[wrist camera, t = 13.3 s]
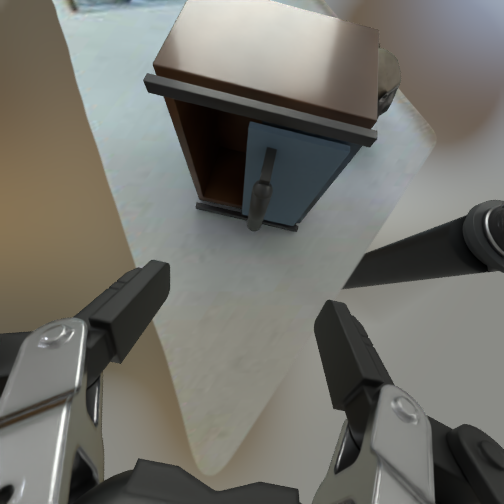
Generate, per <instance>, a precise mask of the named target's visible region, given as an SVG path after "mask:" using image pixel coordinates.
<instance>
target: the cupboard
mask: <svg viewBox="0 0 504 504" xmlns="http://www.w3.org/2000/svg"><path fill="white" fill-rule="evenodd" d="M378 56H379V30H378V29H374V28H371V27H367V26H363V25H359V24H355V23H352V22H348V21H344V20H341V19H337V18H334V17H330V16H326V15H322V14H319V13H315V12H311V11H307V10H304V9H300V8H296V7H293V6H289V5H285V4H281V3H278V2H274V1H270V0H187V1H186V3H185V5H184V7H183V9H182V10H181V12H180V14H179V16H178V18H177V20H176V21H175V23H174V25H173V27H172V29H171V31H170V33H169V34H168V36H167V38H166V40H165V42H164V44H163V45H162V47H161V49H160V51H159V53H158V55H157V57H156V58H155V60H154V62H153V67H154V70H155V73H156V75H152V74H149V73H147V74H146V76H145V78H144V80H143V81H144V84H145V86H146V88H147V91H148V92H149V93H152V94H156V95H160V96H164V99H165V102H166V105H167V108H168V111H169V113H170V116H171V119H172V122H173V125H174V128H175V131H176V134H177V136H178V139H179V142H180V145H181V148H182V151H183V154H184V157H185V159H186V162H187V165H188V168H189V171H190V174H191V177H192V180H193V182H194V185H195V188H196V191H197V194H198V197H199V199H200V200H204V201H208V202H212V203H217V204H221V205H225V206H229V207H234V208H238V209H242V205H243V192H244V179H245V165H246V152H247V139H248V127H249V123H250V122H255V123H259V124H263V125H267V126H271V127H275V128H279V129H283V130H287V131H291V132H295V133H299V134H303V135H307V136H312V137H316V138H320V139H324V140H328V141H332V142H336V143H340V144H344V145H348V146H350V153H349V154H348V155H347V157H346V158H345V159H344V161H343V162H342V163H341V165H340V166H339V167H338V168H337V170H336V171H335V172H334V174H333V175H332V176H331V178H330V179H329V180H328V181H327V183H326V184H325V185H324V187H323V188H322V189H321V191H320V192H319V193H318V195H317V196H316V197H315V198H314V200H313V201H312V202H311V204H310V205H309V206H308V208H307V209H306V210H305V212H304V213H303V214H302V215H301V217H300V218H299V219H298V221H297V222H296V223H300V222H301V221H302V220H303V218H304V217H305V216H306V215H307V213H308V212H309V211H310V210H311V208H312V207H313V206H314V205H315V204H316V202H317V201H318V200H319V199H320V197H321V196H322V195H323V194H324V193H325V191H326V190H327V189H328V188H329V186H330V185H331V184H332V183H333V181H334V180H335V179H336V178H337V177H338V175H339V174H340V173H341V172H342V170H343V169H344V168H345V167H346V166H347V164H348V163H349V162H350V161H351V159H352V158H353V157H354V156H355V155H356V153H357V152H358V151H359V150H360V148H361V147H362V146H366V147H371V145H372V144H373V143H374V142H375V141H376V140H377V131H375V130H371V128H372V127H373V126H374V124H375V123H376V122H377V105H378ZM196 209H200V210H204V211H209V212H213V213H217V214H222V215H226V216H230V217H235V218H239V219H243V220H248V216H247V215H243V214H242V213H240V212H236V211H232V210H228V209H223V208H219V207H215V206H210V205H206V204H202V203H196ZM262 224H265V225H269V226H274V227H278V228H282V229H287V230H291V231H295V232H297V230H298V226H296V225H294V226H290V225H286V224H281V223H277V222H273V221H268V220H264V219H263V222H262Z"/></svg>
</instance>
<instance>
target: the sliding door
mask: <svg viewBox="0 0 504 504" xmlns="http://www.w3.org/2000/svg"><path fill="white" fill-rule="evenodd" d="M349 153H350V146H348V145H344V144H340V143H336V142H332V141H328V140H324V139H320V138H316V137H312V136H307V135H303V134H299V133H295V132H291V131H287V130H283V129H279V128H275V127H271V126H267V125H263V124H259V123H255V122H250V123H249V127H248V139H247V152H246V165H245V179H244V192H243V205H242V214H243V215H247V216H248V221H247V227H248V228H249V229H250V230H251V231H257V230H259V229H260V227H261V225H262V222H263V219H264V220H268V221H273V222H277V223H281V224H286V225H290V226H294V225H295V223H296V222H297V221H298V219H299V218H300V217H301V215H302V214H303V213H304V212H305V210H306V209H307V208H308V206H309V205H310V204H311V202H312V201H313V200H314V198H315V197H316V196H317V195H318V193H319V192H320V191H321V189H322V188H323V187H324V185H325V184H326V183H327V181H328V180H329V179H330V178H331V176H332V175H333V174H334V172H335V171H336V170H337V168H338V167H339V166H340V165H341V163H342V162H343V161H344V159H345V158H346V157H347V155H348V154H349Z"/></svg>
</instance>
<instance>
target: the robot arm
mask: <svg viewBox="0 0 504 504" xmlns="http://www.w3.org/2000/svg"><path fill="white" fill-rule="evenodd" d="M502 204H504V203H502ZM482 229H483V233H484V236H485V238H486V240H487V241H488V243H489V245H490V246H491V247H492V248H493V250H494V251H495V252H496V253H497V254H499V255H500V256H501V257H502V258H504V205H500V204H499V206H496V207H493V208H491V209H489V210H488V211H486V213H485V214H484V216H483V219H482ZM169 291H170V265H169V263H165V262H161V261H156V260H151V261H150V262H149V263H147V264H146V265H145V266H144V267H143V268H136V269H134V270H131V271H129V272H127V273H125V274H124V275H123V276H122V277H121V278H119V279H118V280H117V282H115V283H114V284H112V285H111V286H110V287H109V289H106V290H105V291H104V292H103V293H102V294H100V295H99V296H98V297H97V298H96V299H94V300H93V301H92V302H91V303H90V304H89V305H88V306H86V307H85V308H84V309H82V310H81V311H80V312H79V313H78V314H77V315H75V316H74V317H73V318H63V319H59V320H55V321H52V322H49V323H47V324H45V325H43V326H41V327H39V328H38V329H36V330H35V331H32V332H19V333H4V334H0V504H301V503H300V502H299V491H298V489H295V488H290V487H285V486H280V485H275V484H269V483H264V482H256V483H252V484H248V485H244V486H240V487H235V488H231V489H227V490H223V491H215V490H213V489H211V488H210V487H208V486H207V485H205V484H204V483H202V482H201V481H200V480H198V479H197V478H195V477H194V476H192V475H191V474H189V473H188V472H186V471H185V470H183V469H182V468H181V467H179V466H175V465H170V464H165V463H160V462H154V461H149V460H144V459H138V460H137V463H136V465H135V467H134V469H133V470H128V471H125V472H122V473H120V474H117V475H115V476H113V477H111V478H109V479H107V480H105V481H104V447H103V440H102V397H103V370H104V369H105V368H106V366H107V365H108V364H109V362H115V363H120V364H121V363H122V361H123V360H124V359H125V357H126V356H127V354H128V353H129V352H130V350H131V349H132V347H133V346H134V344H135V343H136V341H137V340H138V339H139V337H140V336H141V334H142V333H143V332H144V330H145V329H146V327H147V326H148V324H149V323H150V322H151V320H152V319H153V317H154V316H155V314H156V313H157V312H158V310H159V309H160V307H161V306H162V305H163V303H164V302H165V300H166V299H167V297H168V294H169ZM314 333H315V337H316V341H317V345H318V349H319V352H320V357H321V361H322V365H323V369H324V373H325V376H326V381H327V385H328V389H329V392H330V397H331V401H332V405H333V409H337V410H342V411H345V413H346V416H347V419H346V420H345V421H344V423H343V426H342V430H341V433H340V436H339V439H338V442H337V445H336V448H335V451H334V454H333V457H332V460H331V463H330V466H329V469H328V472H327V475H326V477H325V479H324V480H323V482H322V483H321V485H320V486H319V488H318V490H317V492H316V494H315V496H314V499H313V501H312V504H504V449H503V448H502V447H501V446H500V445H499V444H498V443H497V442H495V441H494V440H493V439H492V438H491V437H490V436H488V435H487V434H486V433H484V432H483V431H481V430H479V429H478V428H476V427H474V426H471V425H467V424H463V425H461V426H459V427H457V428H455V429H451V428H449V427H448V426H445V425H444V424H442V423H440V422H438V421H436V420H434V419H433V418H431V417H429V416H427V415H426V414H425V412H424V411H423V409H422V408H421V406H420V405H419V404H418V403H417V402H416V401H415V400H414V399H413V398H412V397H411V396H410V395H409V394H408V393H407V392H405V391H404V390H402V389H401V388H399V387H397V386H395V385H394V383H393V381H392V380H391V378H390V376H389V374H388V372H387V370H386V368H385V367H384V365H383V363H382V361H381V359H380V357H379V355H378V354H377V352H376V350H375V348H374V347H373V344H372V342H371V341H370V339H369V338H368V335H367V333H366V331H365V330H364V327H363V326H362V325H361V323H360V322H359V321H358V320H357V319H356V318H355V317H354V316H352V315H351V314H350V312H349V310H348V308H347V306H346V304H344V303H342V302H337V301H333V300H327V301H326V302H325V304H324V306H323V308H322V309H321V311H320V313H319V315H318V316H317V318H316V320H315V324H314Z"/></svg>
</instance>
